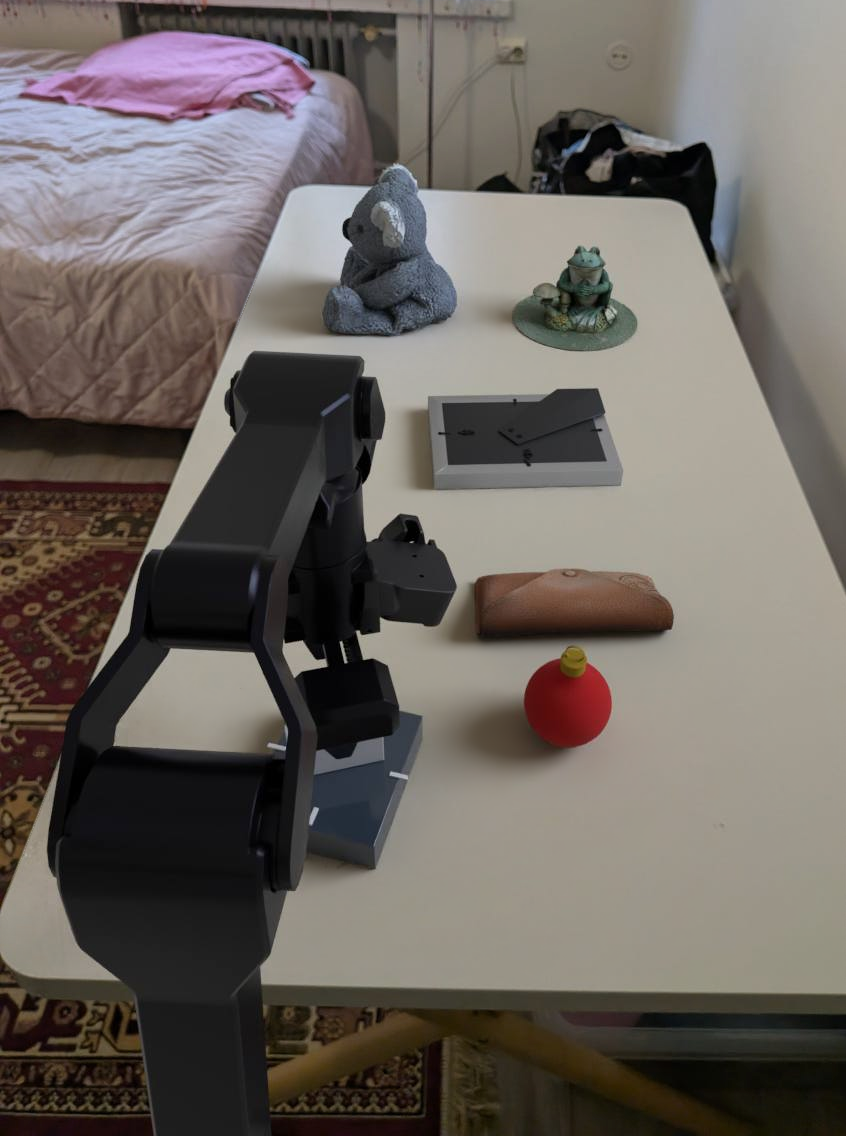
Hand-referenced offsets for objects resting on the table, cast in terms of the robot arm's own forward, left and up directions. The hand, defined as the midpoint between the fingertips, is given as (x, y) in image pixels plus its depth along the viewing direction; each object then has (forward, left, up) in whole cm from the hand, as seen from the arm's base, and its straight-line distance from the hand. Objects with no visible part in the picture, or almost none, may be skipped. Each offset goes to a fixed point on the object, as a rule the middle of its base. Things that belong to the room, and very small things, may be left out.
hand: (332, 704), depth 68 cm
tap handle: (0, 0, -7) cm, 7 cm away
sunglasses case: (+24, -14, -10) cm, 30 cm away
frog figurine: (+82, -5, -10) cm, 83 cm away
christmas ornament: (+10, -16, -10) cm, 21 cm away
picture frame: (+49, -4, -10) cm, 50 cm away
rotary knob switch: (0, 0, -10) cm, 10 cm away
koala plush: (+76, +20, -10) cm, 79 cm away
